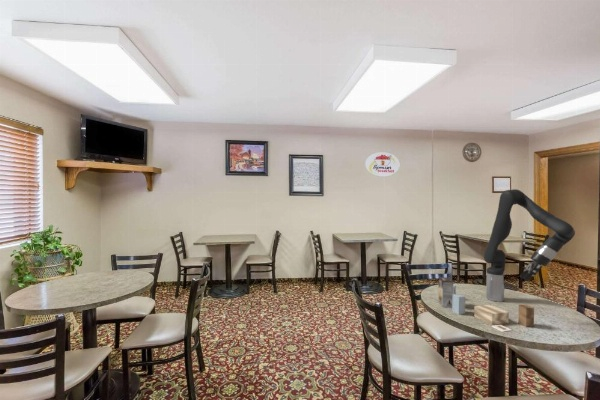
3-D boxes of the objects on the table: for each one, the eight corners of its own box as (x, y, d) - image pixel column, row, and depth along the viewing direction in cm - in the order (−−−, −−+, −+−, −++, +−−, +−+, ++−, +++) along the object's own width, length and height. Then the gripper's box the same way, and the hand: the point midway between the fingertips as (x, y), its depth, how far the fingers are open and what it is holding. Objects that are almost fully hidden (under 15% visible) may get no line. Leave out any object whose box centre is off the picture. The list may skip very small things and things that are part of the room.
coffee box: (437, 301, 181) (438, 276, 180) (448, 302, 179) (449, 277, 179) (442, 307, 172) (442, 280, 171) (453, 308, 170) (453, 281, 170)
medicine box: (455, 298, 187) (456, 285, 187) (454, 300, 184) (454, 287, 184) (443, 295, 193) (443, 283, 193) (441, 297, 189) (441, 284, 189)
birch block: (489, 315, 161) (490, 304, 161) (508, 323, 151) (508, 312, 151) (474, 316, 158) (474, 306, 158) (492, 325, 148) (492, 313, 148)
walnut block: (526, 322, 151) (526, 304, 151) (533, 326, 146) (534, 307, 146) (518, 323, 150) (518, 304, 150) (526, 327, 146) (526, 307, 146)
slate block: (458, 310, 166) (458, 294, 166) (464, 313, 162) (465, 296, 162) (452, 311, 165) (452, 294, 165) (458, 314, 161) (458, 297, 160)
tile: (500, 325, 147) (500, 324, 147) (511, 330, 141) (511, 329, 141) (491, 326, 146) (491, 325, 146) (502, 331, 140) (502, 330, 140)
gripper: (532, 250, 158) (513, 273, 161) (539, 251, 146) (519, 275, 148) (547, 259, 155) (527, 281, 158) (555, 260, 142) (534, 285, 145)
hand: (523, 278), depth 153 cm, fingers open, 8 cm apart
